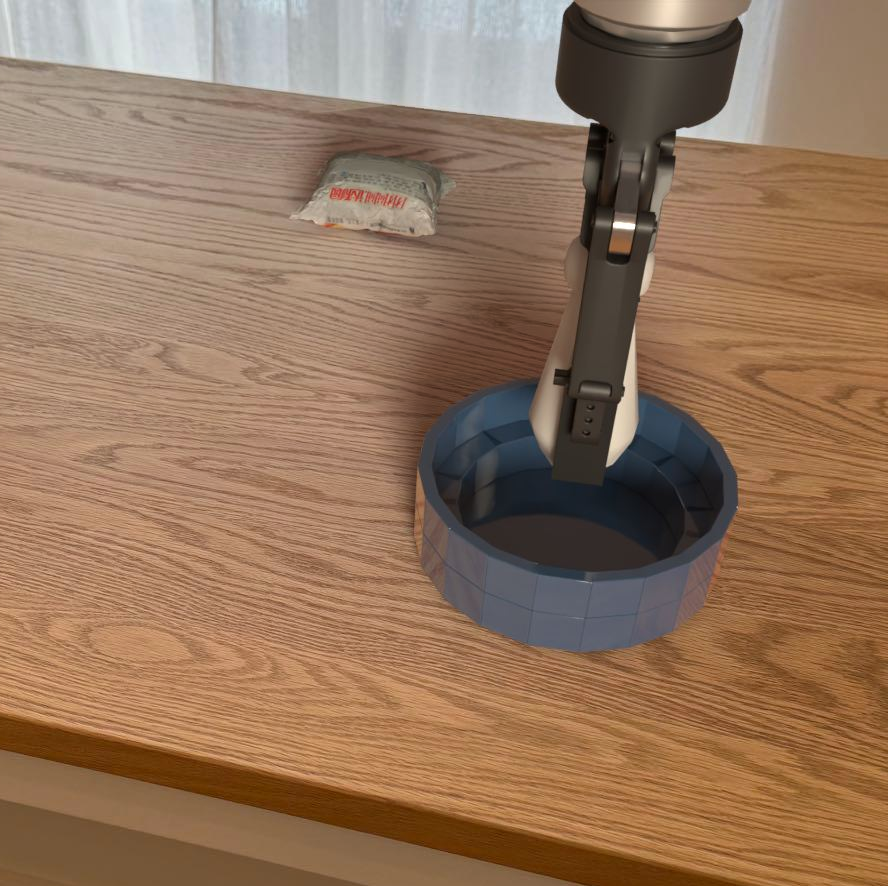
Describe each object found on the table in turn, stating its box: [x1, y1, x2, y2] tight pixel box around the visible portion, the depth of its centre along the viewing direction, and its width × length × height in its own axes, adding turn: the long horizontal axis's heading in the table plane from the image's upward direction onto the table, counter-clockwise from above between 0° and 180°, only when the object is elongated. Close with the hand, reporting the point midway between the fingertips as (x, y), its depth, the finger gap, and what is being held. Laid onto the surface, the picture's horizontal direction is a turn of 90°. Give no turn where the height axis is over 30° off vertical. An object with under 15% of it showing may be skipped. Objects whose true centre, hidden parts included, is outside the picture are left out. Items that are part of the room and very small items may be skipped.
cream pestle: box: [529, 234, 656, 467], centre depth 64 cm, size 6×6×13 cm
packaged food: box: [288, 150, 458, 238], centre depth 100 cm, size 9×12×5 cm
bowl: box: [413, 376, 739, 653], centre depth 71 cm, size 18×18×6 cm
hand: (581, 439), depth 68 cm, fingers closed on cream pestle, 6 cm apart
